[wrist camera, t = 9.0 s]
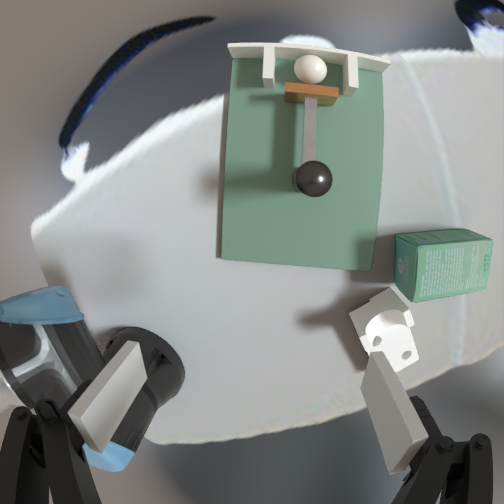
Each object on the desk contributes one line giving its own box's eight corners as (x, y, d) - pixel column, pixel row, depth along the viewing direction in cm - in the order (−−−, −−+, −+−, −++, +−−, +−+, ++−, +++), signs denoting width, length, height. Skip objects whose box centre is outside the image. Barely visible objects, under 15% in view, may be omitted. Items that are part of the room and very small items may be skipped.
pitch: (222, 257, 37) (214, 267, 33) (234, 57, 30) (228, 43, 25) (368, 269, 35) (378, 280, 31) (379, 71, 28) (390, 60, 24)
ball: (294, 54, 24) (294, 52, 27) (293, 85, 27) (293, 80, 30) (329, 57, 24) (325, 55, 26) (327, 88, 27) (323, 83, 29)
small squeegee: (279, 190, 33) (278, 194, 23) (285, 92, 29) (284, 60, 20) (328, 195, 32) (346, 200, 22) (332, 97, 29) (350, 67, 19)
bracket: (347, 310, 37) (359, 337, 30) (389, 286, 35) (409, 308, 28) (375, 367, 39) (386, 397, 32) (411, 347, 37) (428, 373, 30)
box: (392, 233, 33) (416, 246, 26) (465, 227, 32) (494, 237, 24) (391, 283, 35) (411, 306, 28) (461, 272, 33) (487, 290, 26)
